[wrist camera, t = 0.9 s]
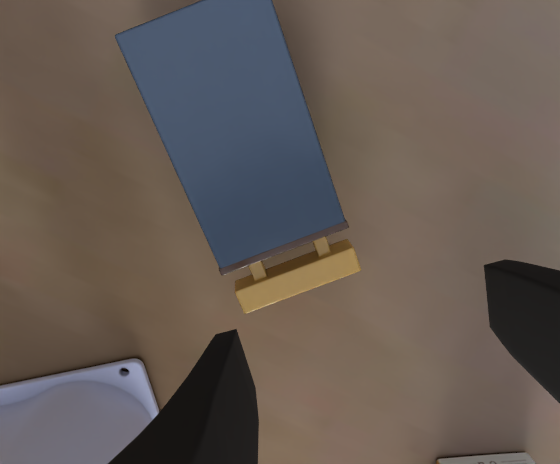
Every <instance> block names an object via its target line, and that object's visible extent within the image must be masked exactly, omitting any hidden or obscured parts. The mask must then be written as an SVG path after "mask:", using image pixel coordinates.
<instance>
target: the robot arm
mask: <svg viewBox="0 0 560 464" xmlns="http://www.w3.org/2000/svg"><path fill="white" fill-rule="evenodd" d="M484 270H485V280H486V291H487V301H488V312H489V322H490V328H491V329H492V330H493V332H494V333H495V334H496V336H497V337H498V339H499V340H500V341H501V343H502V344H503V345H504V346H505V348H506V349H507V350H508V351H509V353H510V354H511V355H512V356H513V357H514V358H515V359H516V360H517V361H518V362H519V363H520V364H521V365H522V366H523V367H524V368H525V369H526V370H527V371H528V372H529V373H530V374H531V375H532V376H533V377H534V378H535V379H536V380H537V381H538V382H539V383H540V384H541V385H542V386H543V387H544V388H545V389H546V390H547V391H548V392H549V393H550V394H551V395H552V396H553V397H554V398H555V399H556V400H557V401H558V402H559V403H560V271H559V270H555V269H550V268H546V267H542V266H538V265H533V264H528V263H524V262H518V261H513V260H502V261H498V262H494V263H490V264H486V265H484ZM121 368H126V369H128V372H124V371H122V369H121ZM258 427H259V419H258V408H257V399H256V389H255V385H254V382H253V379H252V376H251V373H250V369H249V366H248V363H247V360H246V357H245V354H244V351H243V348H242V345H241V342H240V339H239V335H238V332H237V329H235V330H231V331H227V332H223V333H219V334H216V335H215V336H214V337H213V339H212V340H211V342H210V344H209V345H208V347H207V348H206V350H205V351H204V353H203V354H202V356H201V357H200V359H199V360H198V362H197V363H196V365H195V366H194V368H193V369H192V371H191V372H190V374H189V375H188V376H187V378H186V379H185V381H184V382H183V383H182V384H181V386H180V387H179V388H178V390H177V391H176V392H175V394H174V395H173V396H172V398H171V399H170V400H169V401H168V403H167V404H166V405H165V406H164V408H163V409H162V410H161V411H159V408H158V405H157V402H156V399H155V396H154V393H153V390H152V387H151V384H150V381H149V378H148V375H147V372H146V369H145V366H144V364H143V362H142V361H141V360H139V359H136V358H135V359H128V360H123V361H118V362H113V363H108V364H103V365H98V366H94V367H89V368H84V369H79V370H74V371H69V372H64V373H60V374H55V375H50V376H45V377H40V378H35V379H30V380H25V381H21V382H16V383H11V384H6V385H1V386H0V464H258Z"/></svg>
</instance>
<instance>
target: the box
mask: <svg viewBox="0 0 560 464" xmlns="http://www.w3.org/2000/svg"><path fill="white" fill-rule="evenodd" d="M115 38H116V41H117V43H118V45H119V47H120V49H121V52H122V54H123V56H124V58H125V60H126V63H127V65H128V67H129V69H130V71H131V74H132V76H133V78H134V80H135V82H136V85H137V87H138V89H139V91H140V93H141V96H142V98H143V100H144V102H145V104H146V107H147V109H148V111H149V113H150V115H151V118H152V120H153V122H154V124H155V126H156V129H157V131H158V133H159V135H160V138H161V140H162V142H163V144H164V146H165V149H166V151H167V153H168V155H169V157H170V160H171V162H172V164H173V166H174V168H175V171H176V173H177V175H178V177H179V179H180V182H181V184H182V186H183V188H184V190H185V193H186V195H187V197H188V199H189V201H190V204H191V206H192V208H193V210H194V212H195V215H196V217H197V219H198V221H199V223H200V226H201V228H202V230H203V232H204V234H205V237H206V239H207V241H208V243H209V245H210V248H211V250H212V252H213V254H214V256H215V259H216V261H217V263H218V265H219V271H220V273H221V275H225V274H227V273H230V272H233V271H235V270H238V269H241V268H243V267H246V266H248V267H249V269H250V271H251V274H252V275H250V276H247V277H244V278H242V279H239V280H236V281H235V294H236V296H237V298H238V300H239V303H240V305H241V307H242V309H243V312H244V313H245V314H246V313H249V312H251V311H254V310H257V309H259V308H262V307H265V306H267V305H270V304H273V303H276V302H278V301H281V300H284V299H286V298H289V297H292V296H294V295H297V294H300V293H302V292H305V291H308V290H310V289H313V288H316V287H318V286H321V285H324V284H326V283H329V282H332V281H334V280H337V279H340V278H342V277H345V276H348V275H350V274H353V273H356V272H358V271H360V270H361V268H360V265H359V262H358V259H357V256H356V253H355V250H354V247H353V246H352V245H351V243H350V242H349V241H348V239H345V240H342V241H340V242H337V243H334V244H332V245H329V244H328V241H327V238H326V236H328V235H331V234H333V233H336V232H339V231H341V230H344V229H346V228H349V226H348V223H347V221H346V220H345V218H344V215H343V212H342V209H341V206H340V203H339V200H338V197H337V194H336V191H335V188H334V185H333V182H332V179H331V176H330V173H329V170H328V167H327V164H326V161H325V158H324V155H323V152H322V149H321V146H320V143H319V140H318V137H317V134H316V131H315V128H314V125H313V122H312V119H311V116H310V113H309V110H308V107H307V104H306V101H305V98H304V95H303V92H302V89H301V86H300V83H299V80H298V77H297V74H296V71H295V68H294V65H293V62H292V59H291V56H290V53H289V50H288V47H287V44H286V41H285V38H284V35H283V32H282V29H281V26H280V23H279V20H278V17H277V14H276V11H275V8H274V5H273V2H272V0H201V1H199V2H196V3H194V4H191V5H189V6H186V7H184V8H181V9H179V10H176V11H174V12H171V13H169V14H166V15H164V16H161V17H159V18H156V19H154V20H151V21H149V22H146V23H144V24H141V25H138V26H136V27H133V28H131V29H128V30H126V31H123V32H121V33H118V34H116V35H115ZM309 242H313V244H314V247H315V250H316V251H313V252H311V253H308V254H305V255H303V256H300V257H297V258H295V259H292V260H289V261H287V262H284V263H281V264H279V265H276V266H273V267H271V268H268V269H265V266H264V264H263V262H262V260H264V259H267V258H270V257H272V256H275V255H278V254H280V253H283V252H286V251H288V250H291V249H294V248H296V247H299V246H301V245H304V244H307V243H309Z"/></svg>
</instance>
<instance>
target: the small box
mask: <svg viewBox="0 0 560 464" xmlns="http://www.w3.org/2000/svg"><path fill="white" fill-rule="evenodd" d="M436 464H536V463H535V462H534V460H533V459H532V458H531V457H530V455H529V454H528V453H525V452H524V453H508V454H493V455H480V456H466V457H455V458H443V459H438V460H437V461H436Z"/></svg>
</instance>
